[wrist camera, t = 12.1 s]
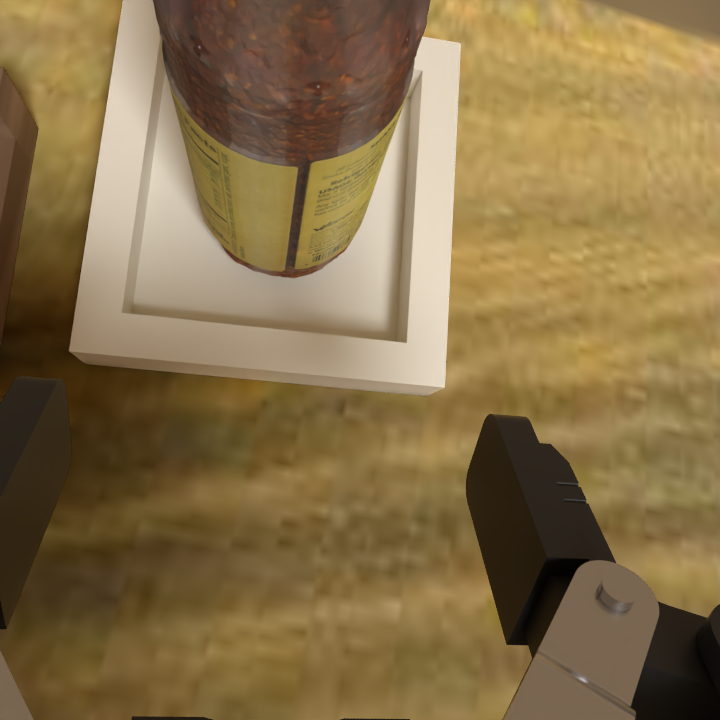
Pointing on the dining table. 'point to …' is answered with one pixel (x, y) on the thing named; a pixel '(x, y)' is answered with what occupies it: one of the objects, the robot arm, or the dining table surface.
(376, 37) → the sauce bottle
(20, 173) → the holder
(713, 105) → the dining table surface
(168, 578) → the dining table surface
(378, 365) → the tray
